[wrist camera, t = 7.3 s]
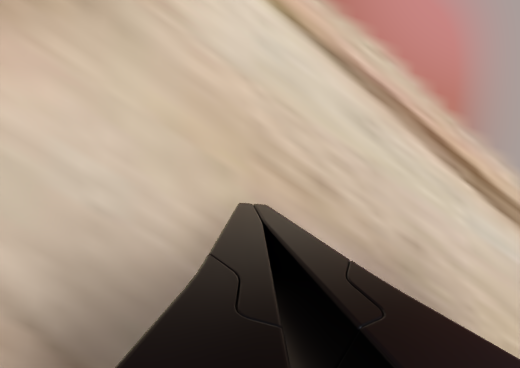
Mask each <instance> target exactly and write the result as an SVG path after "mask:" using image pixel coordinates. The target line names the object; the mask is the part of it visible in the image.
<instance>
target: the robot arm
mask: <svg viewBox="0 0 520 368" xmlns="http://www.w3.org/2000/svg"><path fill="white" fill-rule="evenodd" d="M115 368H520V359H518V358H517V357H515V356H513V355H511V354H510V353H508V352H506V351H504V350H503V349H501V348H499V347H497V346H496V345H494V344H492V343H490V342H489V341H487V340H485V339H483V338H482V337H480V336H478V335H476V334H475V333H473V332H471V331H469V330H468V329H466V328H464V327H462V326H461V325H459V324H457V323H455V322H454V321H452V320H450V319H448V318H447V317H445V316H443V315H441V314H440V313H438V312H436V311H434V310H433V309H431V308H429V307H428V306H426V305H424V304H422V303H421V302H419V301H417V300H415V299H414V298H412V297H410V296H408V295H407V294H405V293H403V292H401V291H400V290H398V289H396V288H395V287H393V286H391V285H390V284H388V283H386V282H384V281H383V280H381V279H379V278H378V277H376V276H375V275H373V274H372V273H370V272H368V271H367V270H365V269H364V268H362V267H361V266H359V265H358V264H356V263H355V262H353V261H350V260H349V259H348V258H346V257H345V256H343V255H342V254H340V253H339V252H337V251H336V250H334V249H333V248H331V247H330V246H328V245H326V244H325V243H323V242H322V241H320V240H319V239H317V238H316V237H314V236H313V235H311V234H310V233H308V232H307V231H305V230H304V229H302V228H301V227H299V226H298V225H296V224H295V223H293V222H292V221H290V220H289V219H287V218H286V217H284V216H283V215H281V214H280V213H278V212H276V211H275V210H273V209H272V208H270V207H269V206H267V205H263V204H254V205H252V204H249V203H239V204H238V205H237V207H236V209H235V211H234V212H233V214H232V216H231V217H230V219H229V221H228V222H227V224H226V226H225V228H224V229H223V231H222V233H221V234H220V236H219V238H218V239H217V241H216V243H215V245H214V246H213V248H212V250H211V251H210V253H209V255H208V256H207V257H206V259H205V261H204V263H203V264H202V266H201V267H200V269H199V270H198V272H197V273H196V275H195V276H194V278H193V279H192V280H191V281H190V282H189V284H188V285H187V286H186V287H185V289H184V290H183V291H182V292H181V293H180V295H179V296H178V297H177V298H176V299H175V300H174V301H173V302H172V304H171V305H170V306H169V307H168V308H167V309H166V310H165V312H164V313H163V314H162V315H161V316H160V317H159V318H158V320H157V321H156V322H155V323H154V324H153V325H152V326H151V327H150V329H149V330H148V331H147V332H146V333H145V334H144V335H143V337H142V338H141V339H140V340H139V341H138V342H137V343H136V345H135V346H134V347H133V348H132V349H131V350H130V351H129V352H128V354H127V355H126V356H125V357H124V358H123V359H122V360H121V362H120V363H119V364H118V365H117V366H116V367H115Z"/></svg>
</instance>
